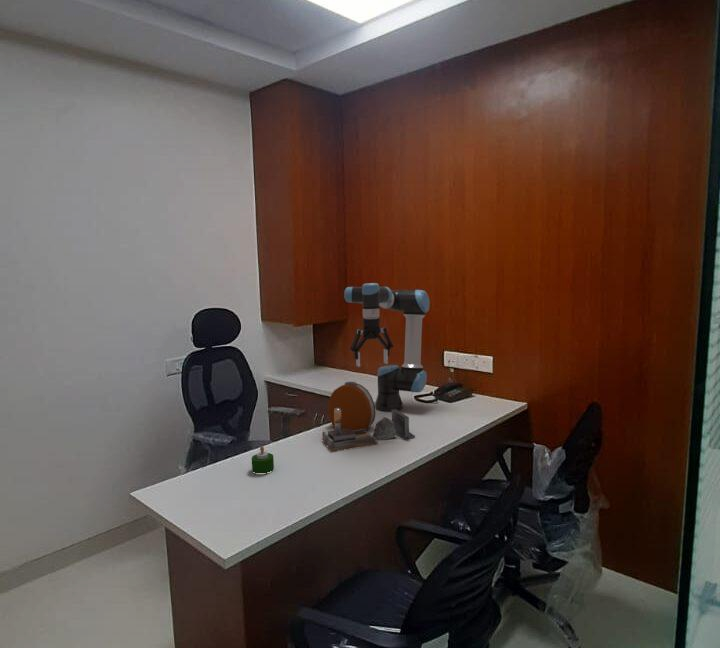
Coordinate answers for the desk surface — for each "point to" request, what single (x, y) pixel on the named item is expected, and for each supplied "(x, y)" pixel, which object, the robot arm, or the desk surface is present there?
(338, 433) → the ram
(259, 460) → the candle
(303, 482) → the desk surface
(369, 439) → the brown shallow box
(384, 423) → the stone
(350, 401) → the alarm clock
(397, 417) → the angle bracket
